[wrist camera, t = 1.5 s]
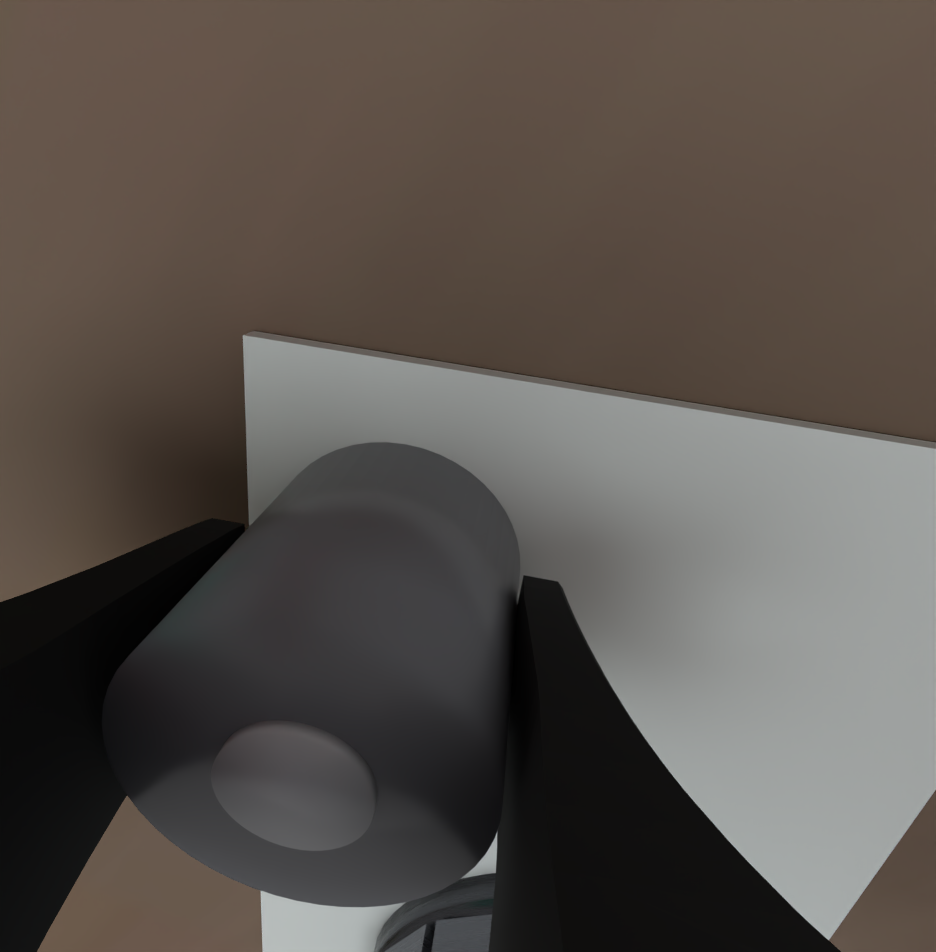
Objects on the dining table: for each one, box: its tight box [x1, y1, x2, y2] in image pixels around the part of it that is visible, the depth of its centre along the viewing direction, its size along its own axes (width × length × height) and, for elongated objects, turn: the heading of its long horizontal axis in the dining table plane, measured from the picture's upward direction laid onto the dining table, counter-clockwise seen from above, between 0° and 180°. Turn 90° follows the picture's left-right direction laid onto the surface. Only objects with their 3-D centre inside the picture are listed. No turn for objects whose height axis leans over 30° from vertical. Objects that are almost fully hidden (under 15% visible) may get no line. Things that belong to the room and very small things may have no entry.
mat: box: [243, 331, 936, 952], centre depth 15 cm, size 15×24×1 cm, turn 172°
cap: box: [102, 442, 520, 907], centre depth 9 cm, size 5×5×5 cm
